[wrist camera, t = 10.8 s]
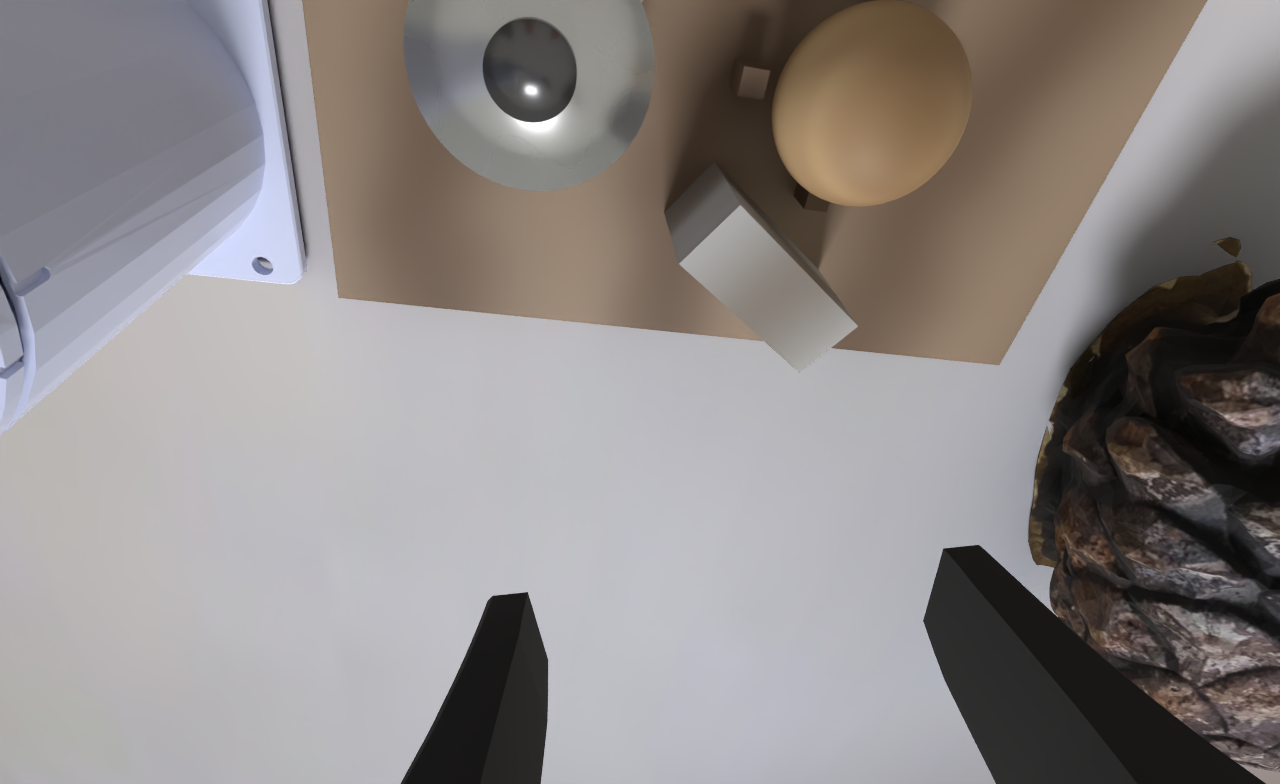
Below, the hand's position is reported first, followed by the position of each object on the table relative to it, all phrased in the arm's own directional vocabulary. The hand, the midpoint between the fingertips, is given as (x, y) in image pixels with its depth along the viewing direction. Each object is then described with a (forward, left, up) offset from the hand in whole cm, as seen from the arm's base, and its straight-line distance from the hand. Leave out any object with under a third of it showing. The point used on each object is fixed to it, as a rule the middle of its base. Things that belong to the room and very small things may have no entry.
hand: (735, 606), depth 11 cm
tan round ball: (+3, +7, -9) cm, 12 cm away
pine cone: (+18, -3, -11) cm, 22 cm away
